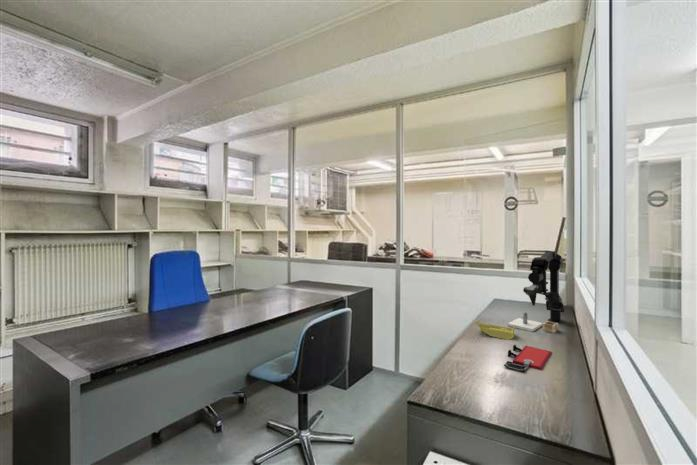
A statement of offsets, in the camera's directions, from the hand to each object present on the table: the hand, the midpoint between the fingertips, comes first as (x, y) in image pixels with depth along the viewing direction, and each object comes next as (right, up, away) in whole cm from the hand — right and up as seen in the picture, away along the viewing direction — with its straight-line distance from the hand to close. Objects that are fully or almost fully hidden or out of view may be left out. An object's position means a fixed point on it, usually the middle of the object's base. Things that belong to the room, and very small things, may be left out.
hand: (540, 307), depth 189 cm
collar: (+7, -13, +2) cm, 15 cm away
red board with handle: (-27, -17, -35) cm, 47 cm away
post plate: (-3, -13, +11) cm, 17 cm away
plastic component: (-26, -15, -1) cm, 30 cm away
